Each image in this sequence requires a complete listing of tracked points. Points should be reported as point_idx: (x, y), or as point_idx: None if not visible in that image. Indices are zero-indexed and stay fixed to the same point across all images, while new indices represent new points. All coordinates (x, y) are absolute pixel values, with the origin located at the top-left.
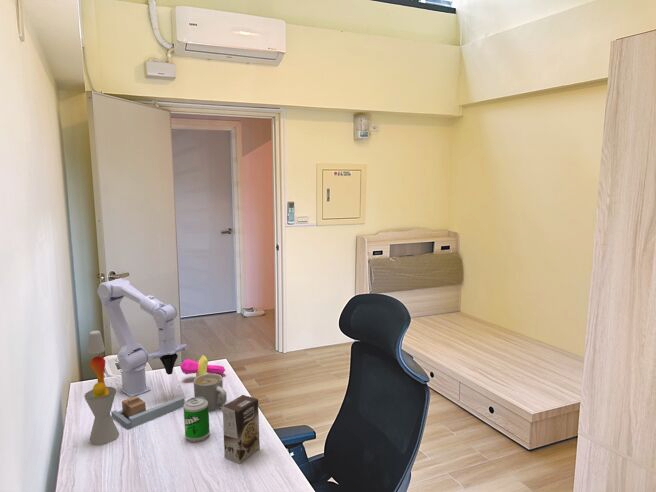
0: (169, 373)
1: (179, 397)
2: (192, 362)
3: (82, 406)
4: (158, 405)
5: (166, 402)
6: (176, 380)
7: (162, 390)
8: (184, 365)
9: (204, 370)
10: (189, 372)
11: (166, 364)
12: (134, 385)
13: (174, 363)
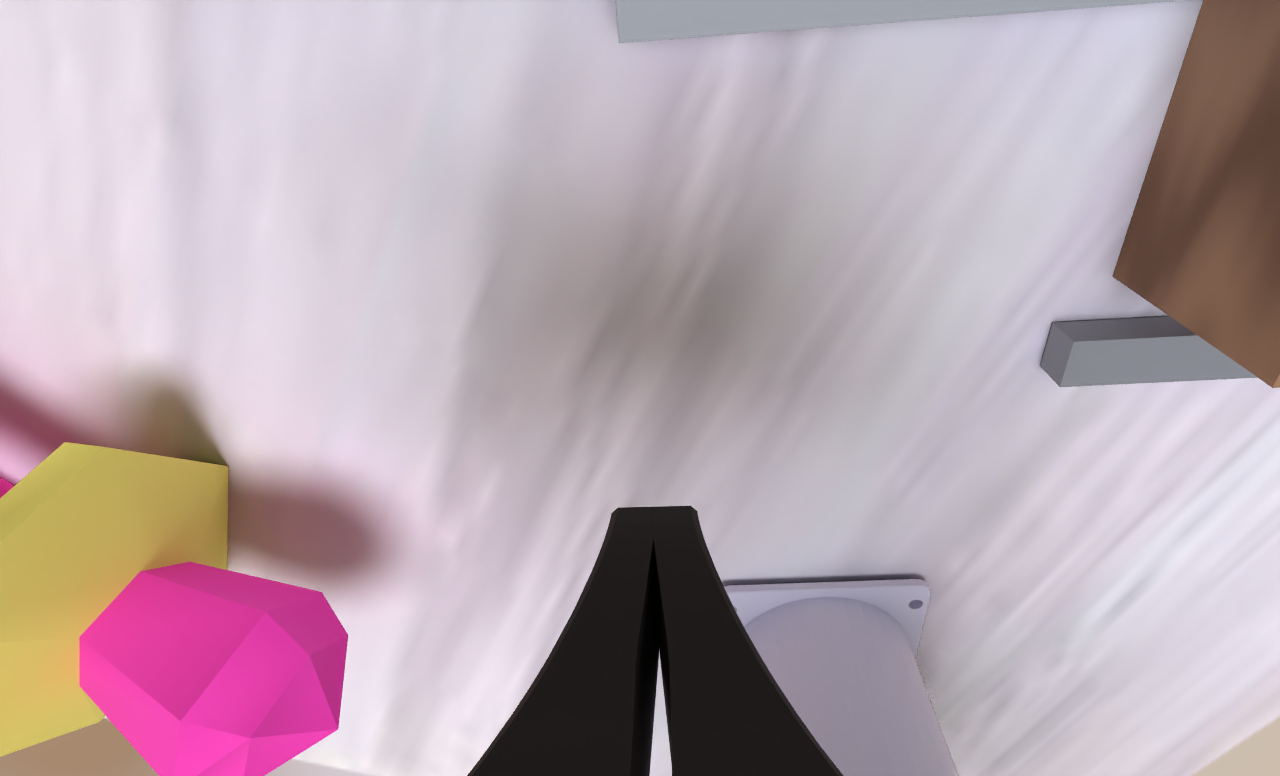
0: (685, 520)
1: (663, 30)
2: (142, 705)
3: (1257, 673)
4: (1076, 8)
5: (920, 15)
6: (435, 604)
7: None
8: (277, 701)
9: (36, 492)
10: (268, 590)
11: (821, 751)
12: (899, 682)
13: (526, 702)
